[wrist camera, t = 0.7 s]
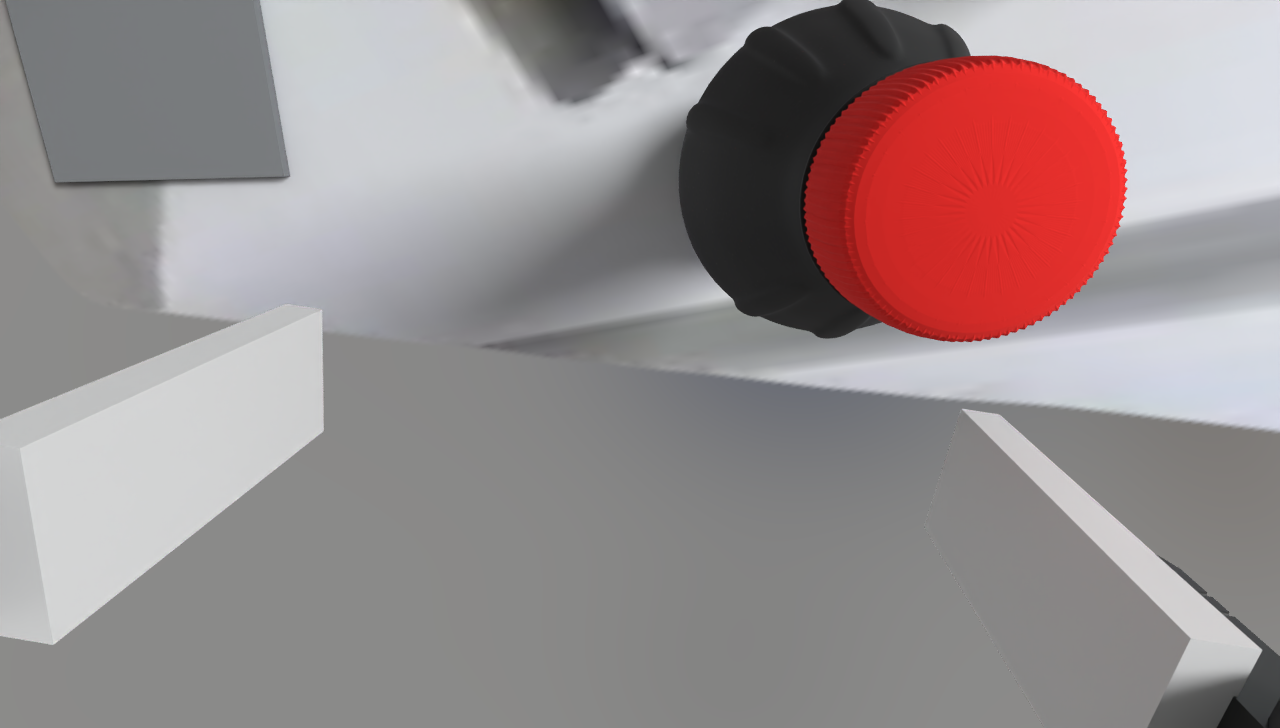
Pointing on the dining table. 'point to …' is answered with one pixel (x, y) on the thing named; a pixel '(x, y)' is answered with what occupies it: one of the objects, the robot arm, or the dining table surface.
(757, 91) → the cola bottle
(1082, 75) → the dining table surface
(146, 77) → the grey mat
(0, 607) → the robot arm
